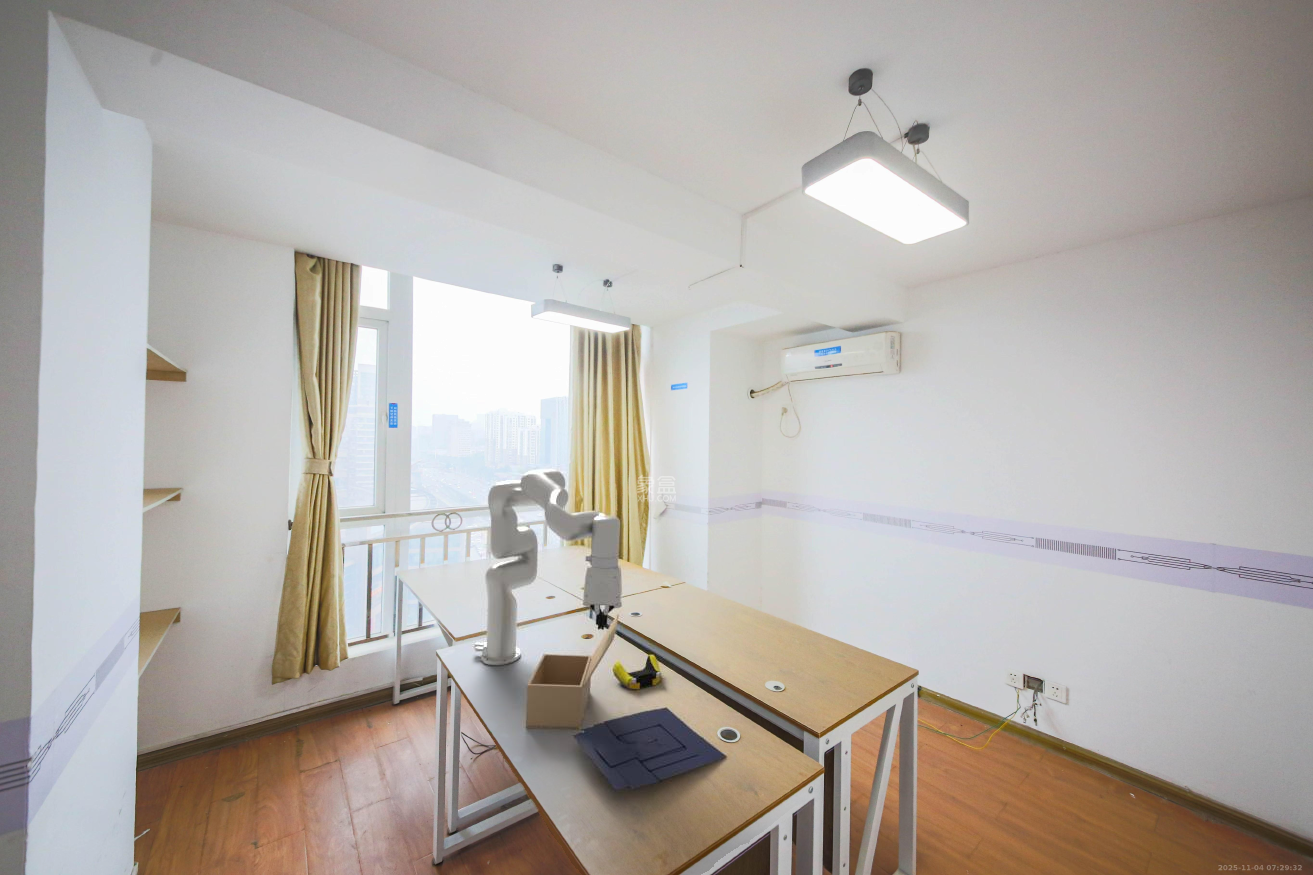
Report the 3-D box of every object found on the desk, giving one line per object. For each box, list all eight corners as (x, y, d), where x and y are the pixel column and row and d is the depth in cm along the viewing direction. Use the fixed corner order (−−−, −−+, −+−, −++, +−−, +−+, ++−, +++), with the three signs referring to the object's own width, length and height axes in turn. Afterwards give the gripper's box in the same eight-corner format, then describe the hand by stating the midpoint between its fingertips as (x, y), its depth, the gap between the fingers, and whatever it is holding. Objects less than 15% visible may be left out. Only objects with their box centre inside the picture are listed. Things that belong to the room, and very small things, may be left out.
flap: (611, 638, 119) (613, 639, 119) (617, 613, 135) (619, 614, 135) (583, 684, 119) (585, 686, 119) (592, 654, 136) (594, 655, 136)
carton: (525, 727, 119) (527, 684, 119) (542, 691, 136) (543, 653, 136) (580, 729, 119) (581, 686, 119) (590, 692, 136) (591, 655, 136)
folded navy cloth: (566, 742, 112) (568, 726, 112) (664, 716, 129) (666, 703, 130) (619, 810, 92) (621, 790, 92) (726, 768, 110) (728, 752, 110)
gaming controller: (610, 678, 144) (623, 694, 136) (611, 661, 144) (624, 676, 135) (653, 668, 151) (668, 683, 143) (653, 651, 151) (668, 665, 143)
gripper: (574, 563, 123) (571, 631, 124) (630, 566, 123) (627, 634, 124) (579, 556, 131) (576, 620, 131) (632, 558, 131) (629, 623, 131)
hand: (601, 627), depth 128 cm, fingers closed
